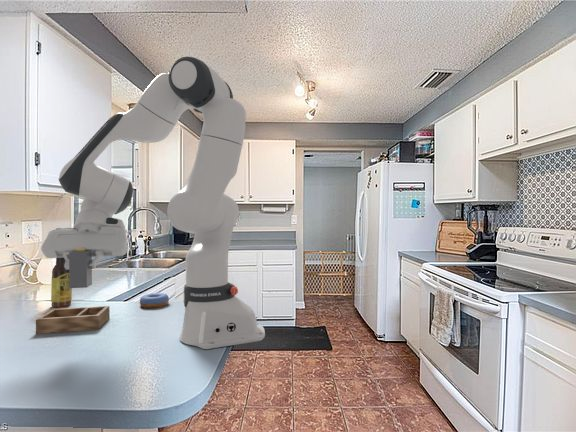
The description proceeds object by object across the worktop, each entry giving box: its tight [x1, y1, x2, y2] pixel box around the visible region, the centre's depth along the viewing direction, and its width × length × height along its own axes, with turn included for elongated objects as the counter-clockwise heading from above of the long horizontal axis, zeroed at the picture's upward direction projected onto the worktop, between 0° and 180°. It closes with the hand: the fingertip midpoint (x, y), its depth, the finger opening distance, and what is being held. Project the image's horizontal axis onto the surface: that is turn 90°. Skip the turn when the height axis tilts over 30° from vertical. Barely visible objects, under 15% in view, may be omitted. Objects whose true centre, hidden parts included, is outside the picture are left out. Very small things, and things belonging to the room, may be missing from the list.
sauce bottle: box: [50, 258, 73, 308], centre depth 128 cm, size 7×6×20 cm
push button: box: [69, 247, 93, 289], centre depth 91 cm, size 4×4×10 cm
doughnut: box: [139, 292, 170, 309], centre depth 128 cm, size 10×10×5 cm
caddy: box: [35, 305, 111, 335], centre depth 105 cm, size 16×11×4 cm
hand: (79, 267), depth 90 cm, fingers closed on push button, 4 cm apart
